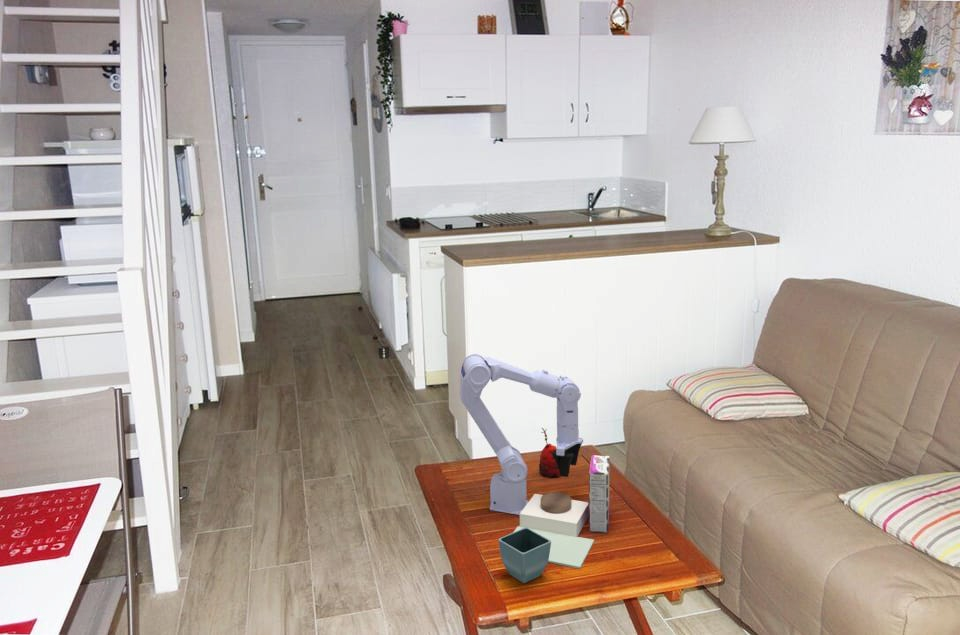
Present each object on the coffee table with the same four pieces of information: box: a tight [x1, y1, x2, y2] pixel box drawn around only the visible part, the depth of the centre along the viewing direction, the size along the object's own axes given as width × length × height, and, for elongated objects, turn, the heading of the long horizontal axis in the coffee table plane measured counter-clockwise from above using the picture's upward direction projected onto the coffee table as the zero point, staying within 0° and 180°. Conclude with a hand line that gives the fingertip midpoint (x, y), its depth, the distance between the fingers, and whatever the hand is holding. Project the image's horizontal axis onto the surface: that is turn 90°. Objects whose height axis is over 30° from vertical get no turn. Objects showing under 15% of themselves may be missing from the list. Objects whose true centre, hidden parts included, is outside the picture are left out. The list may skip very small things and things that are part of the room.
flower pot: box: [498, 527, 551, 584], centre depth 169 cm, size 9×9×9 cm
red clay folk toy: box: [538, 427, 561, 478], centre depth 221 cm, size 8×7×15 cm
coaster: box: [541, 491, 572, 514], centre depth 193 cm, size 8×8×2 cm
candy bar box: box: [588, 454, 610, 534], centre depth 191 cm, size 11×5×16 cm, turn 168°
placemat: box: [513, 525, 595, 570], centre depth 181 cm, size 20×13×1 cm, turn 67°
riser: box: [519, 493, 589, 537], centre depth 193 cm, size 15×12×4 cm
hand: (568, 470), depth 202 cm, fingers open, 7 cm apart
